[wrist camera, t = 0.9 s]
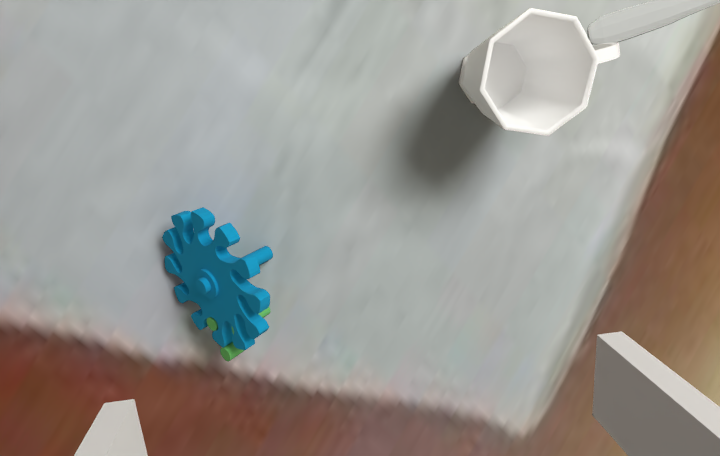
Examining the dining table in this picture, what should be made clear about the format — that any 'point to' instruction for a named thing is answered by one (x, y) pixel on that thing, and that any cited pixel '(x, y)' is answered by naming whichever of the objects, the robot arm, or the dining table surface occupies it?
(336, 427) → the dining table surface
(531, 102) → the cup
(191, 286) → the gear
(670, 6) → the butter knife
